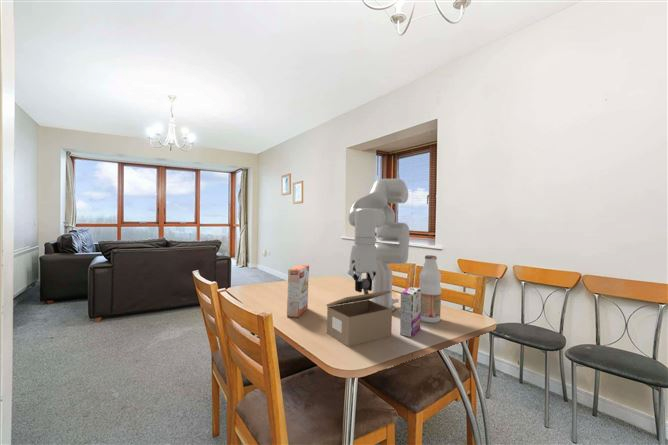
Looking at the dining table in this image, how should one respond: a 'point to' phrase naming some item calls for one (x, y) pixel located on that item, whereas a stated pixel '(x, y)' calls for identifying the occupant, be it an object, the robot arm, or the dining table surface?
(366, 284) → the carton lid
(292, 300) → the cracker box
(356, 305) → the carton
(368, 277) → the robot arm
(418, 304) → the candy bar box
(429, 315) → the fruit juice
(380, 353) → the dining table surface
